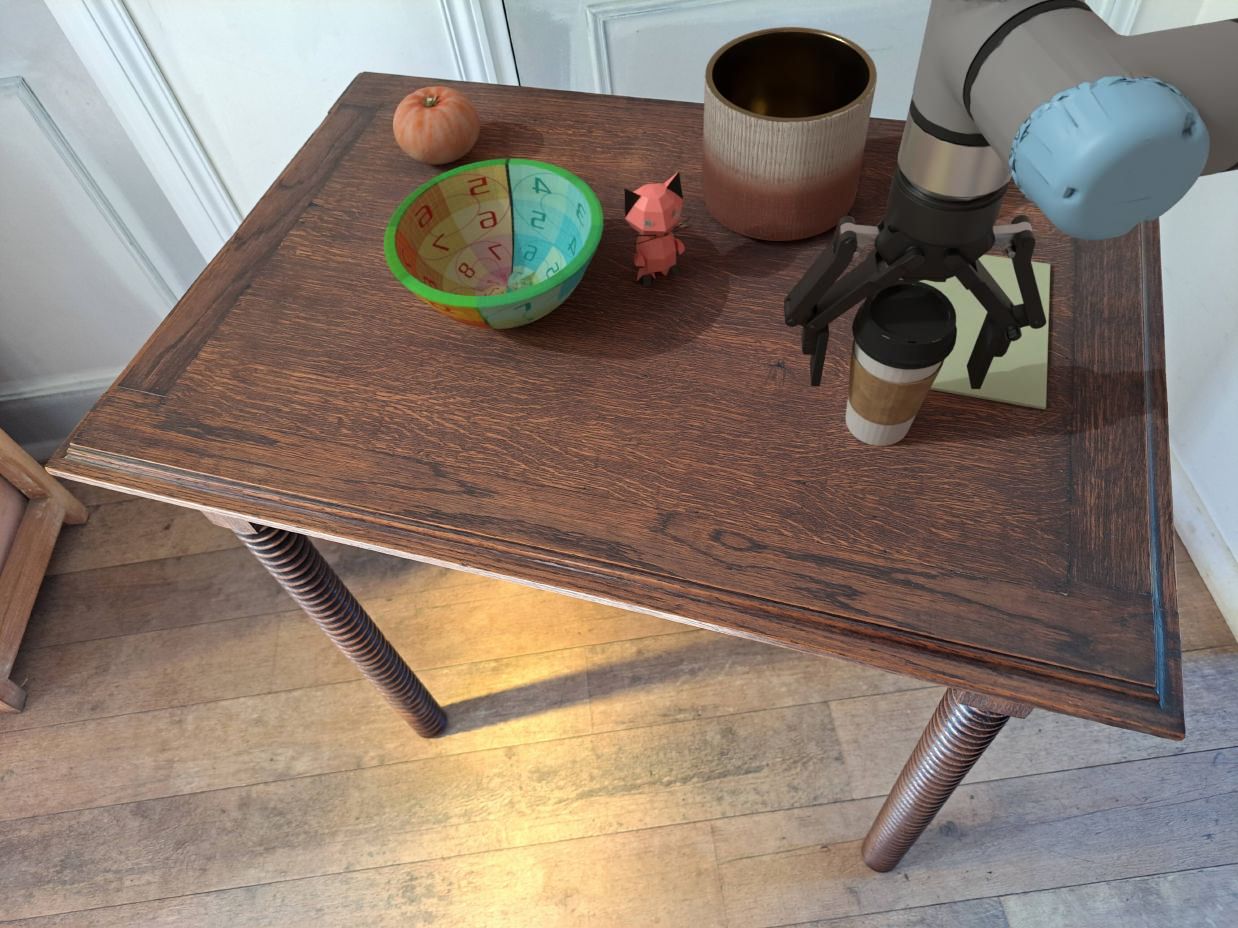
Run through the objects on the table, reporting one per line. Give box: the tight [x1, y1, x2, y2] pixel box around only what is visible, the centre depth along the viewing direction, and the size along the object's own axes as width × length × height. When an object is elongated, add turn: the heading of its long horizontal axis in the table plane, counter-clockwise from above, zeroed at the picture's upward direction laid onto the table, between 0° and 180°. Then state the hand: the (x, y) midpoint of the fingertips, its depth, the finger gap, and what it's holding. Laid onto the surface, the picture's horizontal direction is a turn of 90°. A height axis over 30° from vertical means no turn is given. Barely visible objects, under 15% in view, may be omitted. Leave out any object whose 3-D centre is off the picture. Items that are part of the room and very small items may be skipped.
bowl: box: [383, 158, 605, 330], centre depth 90 cm, size 22×22×10 cm
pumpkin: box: [392, 85, 481, 165], centre depth 107 cm, size 11×11×8 cm
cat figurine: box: [624, 170, 692, 287], centre depth 90 cm, size 7×7×12 cm
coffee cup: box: [845, 279, 957, 447], centre depth 75 cm, size 8×8×15 cm
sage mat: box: [920, 254, 1051, 411], centre depth 87 cm, size 20×14×1 cm
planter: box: [701, 26, 878, 242], centre depth 94 cm, size 18×18×16 cm
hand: (893, 376), depth 75 cm, fingers open, 13 cm apart
